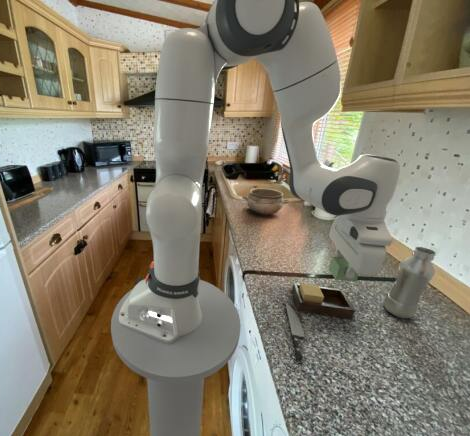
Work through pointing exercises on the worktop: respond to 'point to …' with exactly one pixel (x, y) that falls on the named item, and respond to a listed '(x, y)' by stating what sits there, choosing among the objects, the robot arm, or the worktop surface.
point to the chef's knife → (295, 329)
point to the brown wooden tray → (326, 303)
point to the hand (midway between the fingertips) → (343, 269)
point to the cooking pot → (265, 200)
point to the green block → (340, 269)
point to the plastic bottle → (410, 283)
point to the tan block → (311, 293)
